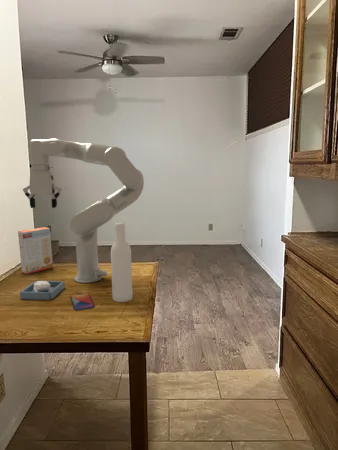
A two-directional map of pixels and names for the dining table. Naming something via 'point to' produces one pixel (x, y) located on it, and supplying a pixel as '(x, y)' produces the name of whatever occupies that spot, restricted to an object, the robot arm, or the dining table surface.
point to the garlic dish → (42, 295)
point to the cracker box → (35, 250)
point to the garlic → (42, 286)
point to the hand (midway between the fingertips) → (43, 207)
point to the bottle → (121, 266)
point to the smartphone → (82, 301)
